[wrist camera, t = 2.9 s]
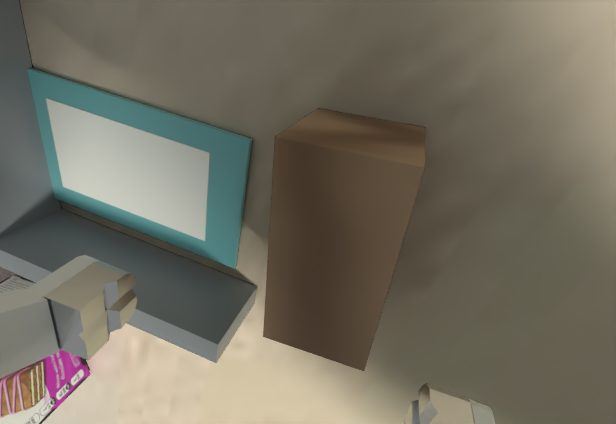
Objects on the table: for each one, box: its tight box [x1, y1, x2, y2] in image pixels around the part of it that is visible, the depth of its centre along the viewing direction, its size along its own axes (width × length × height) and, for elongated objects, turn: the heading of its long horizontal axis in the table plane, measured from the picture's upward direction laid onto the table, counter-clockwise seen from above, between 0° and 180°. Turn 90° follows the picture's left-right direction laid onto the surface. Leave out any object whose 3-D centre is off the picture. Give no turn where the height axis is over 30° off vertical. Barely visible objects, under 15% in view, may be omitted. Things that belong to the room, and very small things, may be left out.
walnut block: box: [263, 108, 425, 371], centre depth 14 cm, size 4×9×5 cm, turn 174°
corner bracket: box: [0, 0, 257, 363], centre depth 17 cm, size 16×15×4 cm
